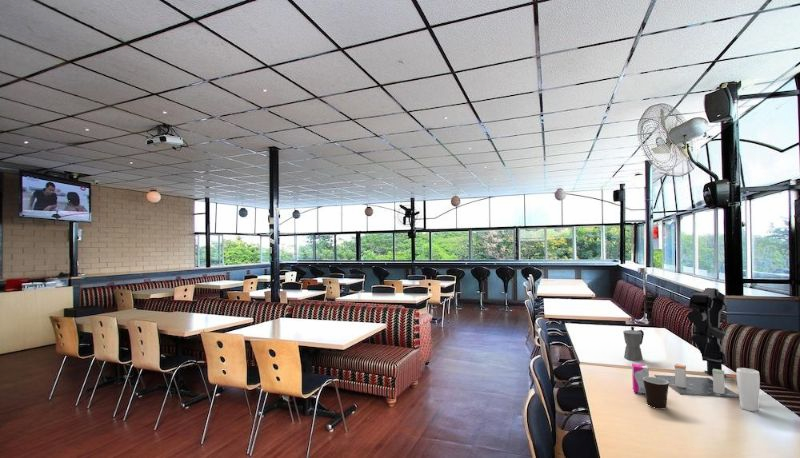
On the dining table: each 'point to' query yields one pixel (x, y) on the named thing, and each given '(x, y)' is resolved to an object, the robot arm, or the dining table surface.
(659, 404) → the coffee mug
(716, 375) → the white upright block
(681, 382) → the terracotta slider
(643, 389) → the supplement box
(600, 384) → the dining table surface
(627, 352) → the coffeepot
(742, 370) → the white rounded cylinder
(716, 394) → the switch panel
